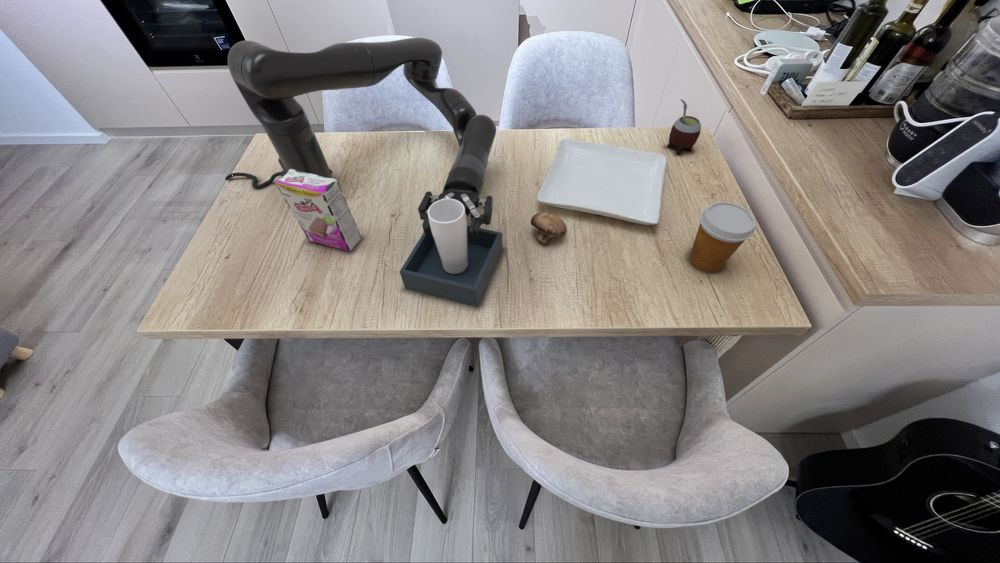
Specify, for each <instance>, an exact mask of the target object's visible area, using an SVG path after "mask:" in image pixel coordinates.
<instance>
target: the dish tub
mask: <svg viewBox="0 0 1000 563" xmlns="http://www.w3.org/2000/svg"><path fill="white" fill-rule="evenodd" d="M469 228H470V225H467V248H468V267H467V269H466V270H465V271H464V272H462V273H459V274H450V273H448V272H446V271H445V270H444V268H443V266H442V261H441V258H440V255H439V252H438V249H437V247H436V244H435V241H434V238H433V235H432V232H431V233H430V235H426V234H425V232H424V231H423V233H422V234H421V236H420V237H419V240H417V243H416V244H415V246H414V247H413V249H412V250H411V251H410V254H409V255H408V258H407V259H406V260H405V261H404V264H403V265H402V267H401V268H400V270H399V275H400V278H401V280H402V283H403V286H404V289H405V290H410V291H413V292H417V293H420V294H421V293H422V294H425V295H429V296H434V297H436V298H441V299H445V300H448V301H454V302H456V303H461V304H464V305H469V306H473V307H476V308H479V306H480V304H481V301H482V299H483V296H484V294H485V292H486V290H487V287H488V285H489V283H490V281H491V278H492V276H493V274H494V271H495V269H496V267H497V264H498V262H499V259H500V258H501V255H502V253H503V251H504V248H503V233H502V232H501V231H495V230H491V229H485V228H481V227H480V228H479V232H478V235H477V236H474V239H471V238H469Z"/></svg>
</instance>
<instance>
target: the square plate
mask: <svg viewBox="0 0 1000 563" xmlns="http://www.w3.org/2000/svg"><path fill="white" fill-rule="evenodd" d="M667 164H668V156H667V155H665V154H661V153H656V152H651V151H645V150H640V149H634V148H629V147H623V146H617V145H610V144H606V143H600V142H599V143H598V142H591V141H583V140H576V139H570V138H563V139H561V140H560V142H559V144H558V147H557V149H556V152H555V155H554V158H553V160H552V162H551V165H550V167H549V169H548V171H547V173H546V175H545V177H544V180H543V182H542V184H541V187H540V188H539V191H538V193H537V195H536V198H535V199H536V201H537V202H539V203H541V204H544V205H547V206H550V207H554V208H560V209H565V210H566V209H567V210H571V211H577V212H578V211H579V212H584V213H588V214H594V215H599V216H604V217H608V218H613V219H617V220H621V221H624V222H630V223H635V224H640V225H646V226H652V225H658V224H659V222H660V216H661V209H662V200H663V199H662V198H663V188H664V181H665V176H666V169H667Z"/></svg>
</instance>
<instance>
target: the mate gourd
mask: <svg viewBox="0 0 1000 563" xmlns="http://www.w3.org/2000/svg"><path fill="white" fill-rule="evenodd" d="M680 101H681V102H682V104H683V107H682V109H683V114H682V116H680V117H679V118H677V119H676V120H675V121H674V123H673V125H672V127H671V130H670V132H669V136H668V144H667V146H666V147H667V148H669V149H673V150H676V156H680V155H681V151H685V152H692V151H693V147H694V145H695V144H696V143H697V141H698V139H699V137H700V135H701V130H702V123H701V121H700V120H699V119H698V118H697V117H694V116H692V115H687V109H688V104H687V102H686V101H685V100H683V99H682V98H681V99H680Z"/></svg>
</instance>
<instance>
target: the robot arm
mask: <svg viewBox="0 0 1000 563" xmlns="http://www.w3.org/2000/svg"><path fill="white" fill-rule="evenodd" d="M442 59H443V49H442V47H441V46H440V45H439V44H438V43H437V42H436V41H434V40H432V39H429V38H425V37H409V38H403V39H396V40H389V41H376V42H375V41H374V42H370V41H369V42H361V41H359V42H358V41H357V42H355V41H354V42H352V41H351V42H338V43H333V44H331V45H328V46H326V47H324V48H322V49H320V50H317V51H313V52H292V51H282V50H277V49H273V48H271V47H269V46H267V45H264V44H262V43H259V42H257V41H253V40H241V41H238V42H236V43H234V45H232V46H231V47H230V49H229V52H228V54H227V67H228V70H229V73H230V75H231V78H232V80H233V82H234V83H235V86H236V87H237V89H238V91H239V93H240V94H241V96H242V98H243V100H244V101H245V103H246V105H247V107H248V108H249V110H250V111H251V113H252V115H253V116H254V117H255V119H256V120H257V121H258V122H259V123H260V124H261V126H262V127H263V130H264V132H265V133H266V135H267V137H268V139H269V141H270V143H271V145H272V147H273V148H274V151H275V152H276V154H277V156H278V158H277V161H278V163H279V165H280V167H281V168H282V171H278V172H275V173H273V174H272V175H271V176H270V178H269V179H268V180H266V181H264V182H262V183H259V184H257V183H258V177H257V176H256V175H254V174H251V173H247V172H231V173H229V174H227V175H226V176H225V179H224V181H229V180H230V179H231V178H234V177H244V178H245V177H246V178H250V179H252V182H251V186H252V188H254V189H261V188H265V187H267V186H269V185H270V184H272V183H273V182H274V181H275V179H276V178H277V177H278V178H279V177H282V176H283V175H284V174H285V173H286V172H287V171H288V170H290V169H293V170H298V171H302V172H306V173H311V174H315V175H319V176H324V177H328V178H333V179H335V178H334V173H333V170H332V169H330V166H329V164H328V162H327V159H326V157H325V154H324V153H323V150H322V147H321V145H320V143H319V141H318V138H317V136H316V133H315V131H314V129H313V127H312V125H311V122H310V120H309V117H308V115H307V113H306V111H305V109H304V107H303V106H302V105H301V103H299V102H298V101H297V99H295V97H298V96H302V95H306V94H310V93H315V92H321V91H338V90H348V89H349V90H350V89H360V88H361V89H362V88H369V87H372V86H375V85H378V84H379V83H381V82H382V81H384V80H385V79H386V78H387V77H389V76H390V75H391V74H392V73H393V72H395V70H397V69H398V68H399V67H401V66H403V69H402V74H403V76H404V77H405V80H406V81H407V82H408V83H409V84H410V85H411V86H412V87H413V88H414V89H415V90H416V91H417V92H419V93H420V94H421V95H422V96H423V97H424V98H425V99H426V100H428V101H429V102H430V103H431V104H432V105H433V106H434V107H436V108H437V110H438V111H439V112H440V113H441V114H442V116H443V117H444V118H445V120H446V121H447V123H448V124H449V125H450V127H451V128H452V131H453V133H454V136H455V139H456V142H457V144H458V146H459V150H458V152H457V153H456V157H455V160H454V162H453V163H452V165H451V167H450V170H449V171H448V174H447V178H446V181H445V184H444V186H443V190H442V192H441V193H440V194H439V195H436V194H433V193H432V191H430V190H428V191H426V192H425V193H424V196H423V197H422V200H421V202H420V204H419V205H418V208H417V211H418V214H419V219H420V220H423V222H422V230H423V233H424V232H425V234H426V235H430V233H431V228H430V224H429V219H428V209H429V207H430V206H431V205H432V204H433V203H434V202H436V201H438V200H441V199H455V200H458V201H459V202H461V203H462V204H463V205H464V208H465V213H466V218H468V220H469V221H470V225H469V226H470V228H469V238H471V239H474V236H477V235H478V232H479V228H481V226H482V225H485V226H489V225H490V224H492V223H491V222H492V215H493V208H494V206H493V204H494V203H493V200H494V199H493V195H487V196H486V197H485V198H480V197H481V193H482V189H483V186H484V182H485V177H486V170H487V166H488V163H489V156H490V155H491V152H492V148H493V145H494V142H495V138H496V135H497V126H496V123H495V121H494V120H493V119H492V117H490V116H488V115H486V114H477V112H476V110H475V108H474V107H473V105H472V104H471V103H470V102H469V100H468V99H467V98H466V96H465V95H464V94H463V93H461V91H459V90H457V89H455V88H452V87H439V86H438V84H437V79H438V76H439V71H440V68H441V64H442ZM232 175H233V176H232ZM480 207H482V209H483V213H481V214H480V212H479V210H477V209H478V208H480Z"/></svg>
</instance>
